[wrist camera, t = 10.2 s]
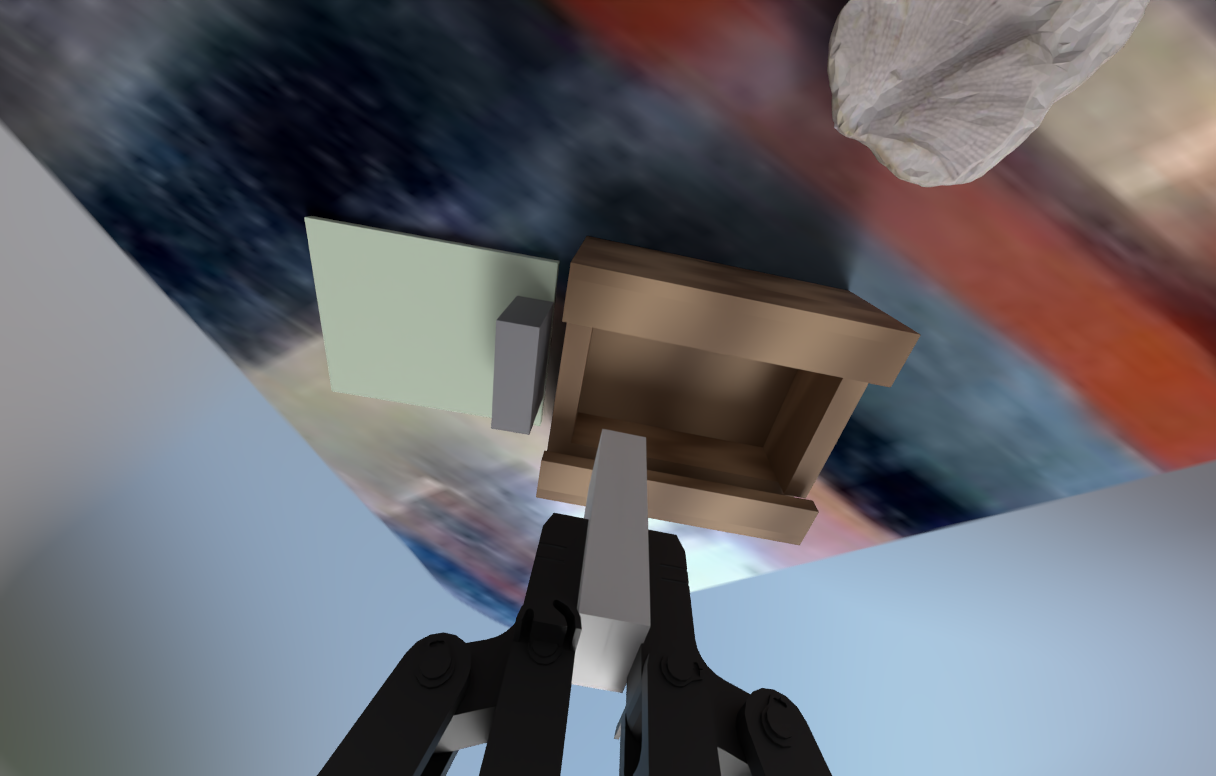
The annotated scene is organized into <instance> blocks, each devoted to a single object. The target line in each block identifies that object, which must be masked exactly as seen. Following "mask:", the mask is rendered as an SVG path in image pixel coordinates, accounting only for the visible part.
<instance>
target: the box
mask: <svg viewBox="0 0 1216 776" xmlns="http://www.w3.org/2000/svg"><path fill="white" fill-rule="evenodd" d="M562 322H567V325H566V332H565V338H564V345H563V351H562V358H561V364H560V371H559V377H558V384H557V390H556V397H555V403H554V410H553V416H552V423H551V429H550V436H549V442H548V449H547V451H544V454H543V457H542V460H541V467H540V474H539V480H538V487H537V494H536V497H537V498H543V499H548V500H554V501H559V502H565V503H570V504H576V505H581V506H586V501H587V495H588V488H589V484H590V480H591V475H592V471H593V467H594V462H595V458H596V454H597V450H598V445H599V441H600V437H601V433H602V429H606V430H611V431H616V432H621V433H626V434H631V435H636V436H641V437H646V462H647V503H648V518H653V519H658V520H664V521H669V522H675V523H680V524H686V525H691V526H696V527H702V528H707V529H713V530H718V531H724V532H729V533H735V534H740V535H746V536H751V537H757V538H762V539H768V540H773V541H779V542H784V543H790V544H795V545H800V544H801V542H802V540H803V539H804V537H805V535H806V533H807V532H808V530H809V528H810V526H811V525H812V523H813V521H814V519H815V518H816V516H817V514H818V513H819V512H818V510H817V508H816V506H815V504H814V502H813V501H811V500H806V499H801V498H806V497H807V495H808V493H809V491H810V490H811V488H812V486H813V484H814V482H815V480H816V479H817V477H818V475H819V473H820V471H821V469H822V468H823V466H824V464H825V462H826V460H827V458H828V457H829V455H830V453H831V451H832V449H833V447H834V446H835V444H836V442H837V440H838V438H839V436H840V435H841V433H842V431H843V429H844V427H845V425H846V424H847V422H848V420H849V418H850V416H851V414H852V412H853V411H854V409H855V407H856V405H857V403H858V401H859V400H860V398H861V396H862V394H863V392H864V390H865V389H866V387H867V385H868V383H871V384H876V385H881V386H886V387H891V386H892V384H893V382H894V380H895V379H896V377H897V375H898V373H899V372H900V370H901V368H902V367H903V365H904V363H905V361H906V360H907V358H908V356H909V354H910V353H911V351H912V349H913V347H914V346H915V344H916V342H917V340H918V339H919V337H920V334H919V333H917V332H915V331H914V330H912V329H910V328H909V327H907V326H906V325H904V324H902V323H901V322H899V321H897V320H896V319H894V318H893V317H891V316H889V315H888V314H886V313H884V312H883V311H881V310H880V309H878V308H876V307H875V306H873V305H871V304H870V303H868V302H867V301H865V300H863V299H862V298H860V297H858V296H857V295H855V294H854V293H852V292H850V291H848V290H843V289H838V288H833V287H829V286H824V285H819V284H814V283H809V282H805V281H800V280H795V279H790V278H786V277H781V276H776V275H771V274H767V273H762V272H757V271H752V270H747V269H743V268H738V267H733V266H728V265H724V264H719V263H714V262H709V261H705V260H700V259H695V258H690V257H685V256H681V255H676V254H671V253H666V252H662V251H657V250H652V249H647V248H643V247H638V246H633V245H628V244H623V243H619V242H614V241H609V240H604V239H600V238H595V237H590V236H587V237H586V238H585V240H584V241H583V243H582V245H581V246H580V248H579V250H578V251H577V253H576V255H575V256H574V258H573V260H572V261H571V264H570V271H569V278H568V284H567V291H566V298H565V305H564V312H563V318H562ZM794 496H795V497H800V498H795V497H794Z"/></svg>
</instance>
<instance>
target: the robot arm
mask: <svg viewBox="0 0 1216 776" xmlns="http://www.w3.org/2000/svg"><path fill="white" fill-rule="evenodd" d="M688 583H689V581H688V573H687V564H686V555H685V550H684V548H683V547H682V545H681V543H680V541H679V539H678V537H677V535H674V534H668V533H663V532H658V531H653V530H648V503H647V462H646V437H641V436H636V435H631V434H626V433H621V432H616V431H611V430H606V429H602V433H601V437H600V441H599V445H598V450H597V454H596V458H595V462H594V467H593V471H592V475H591V480H590V484H589V488H588V495H587V501H586V508H585V515H584V518H579V517H573V516H568V515H563V514H558V513H553V515H552V516H551V517H550V518H549V519H548V521H547V522H546V523H545V524H544V525H543V528H542V532H541V536H540V540H539V545H538V548H537V552H536V557H535V560H534V564H533V568H532V572H531V576H530V580H529V584H528V588H527V592H526V596H525V600H524V604H523V606H522V607H521V609H520V611H519V613H518V615H517V617H516V622H515V624H514V625H513V626H512V627H511V628H510V629H508V630H507V631H506V632H504V633H503V634H501V635H499V636H497V637H494V638H490V639H487V640H481V641H475V642H470V643H465V642H464V641H463V640H462V639H460V638H459V637H458V636H456V635H452V634H448V633H438V634H432V635H429V636H427V637H425V638H423V639H421V640H419V641H418V642H416V643H415V644H414V645H413V646H412V648H410V649H409V651H407V652H406V654H405V655H404V656H403V658H402V659H401V661H400V662H399V663H398V665H397V666H396V668H395V669H394V670H393V672H392V673H391V674H390V676H389V677H388V678H387V680H386V681H385V683H384V684H383V685H382V687H381V688H380V689H379V691H378V692H377V694H376V695H375V696H374V698H373V699H372V701H371V702H370V703H369V705H368V706H367V707H366V709H365V710H364V712H363V713H362V714H361V716H360V717H359V718H358V720H357V721H356V723H355V724H354V725H353V727H352V728H351V730H350V731H349V732H348V734H347V735H346V736H345V738H344V739H343V741H342V742H341V743H340V745H339V746H338V747H337V749H336V750H335V752H334V753H333V754H332V756H331V757H330V759H329V760H328V761H327V763H326V764H325V766H324V767H323V768H322V770H321V771H320V772H319V774H318V775H317V776H446V774H447V772H448V770H449V768H450V766H451V764H452V762H453V760H454V758H455V756H456V754H457V752H458V751H459V749H463V748H467V747H471V746H475V745H479V744H483V743H487V746H486V750H485V754H484V758H483V762H482V765H481V769H480V774H479V776H560V773H561V765H562V757H563V749H564V740H565V732H566V724H567V716H568V708H569V700H570V691H571V684H573V685H579V686H585V687H591V688H597V689H602V690H609V691H614V692H620V693H623V690H624V688H625V686H626V683H627V692H626V693H627V694H626V707H625V709H624V711H623V714H622V716H621V718H620V720H619V723H618V725H617V727H616V732H615V737H614V739H619V738H620V769H619V776H832V775H831V773H830V770H829V768H828V766H827V764H826V762H825V760H824V758H823V756H822V754H821V751H820V749H819V747H818V745H817V743H816V741H815V739H814V737H813V735H812V732H811V730H810V728H809V726H808V724H807V722H806V720H805V719H804V717H803V715H802V714H801V712H800V711H799V709H798V708H797V706H796V705H794V703H792V702H791V701H790V700H789V699H788V698H787V697H786V696H785V695H783V694H781V693H779V692H777V691H775V690H773V689H765V688H761V689H759V690H756V691H753V692H752V693H751V694H749V693H747V692H745V691H743V690H742V689H740V688H738V687H736V686H734V685H732V684H731V683H729V682H727V681H725V680H723V679H722V678H721V677H719V676H717V675H716V674H715V673H714V672H713V671H712V670H711V669H710V668H709V667H708V666H707V665H706V663H705V662H704V660H703V659H702V657H701V655H700V653H699V651H698V649H697V645H696V641H695V634H694V625H693V617H692V608H691V599H690V590H689V586H688ZM620 736H621V737H620Z"/></svg>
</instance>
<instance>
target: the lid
mask: <svg viewBox="0 0 1216 776" xmlns="http://www.w3.org/2000/svg"><path fill="white" fill-rule="evenodd" d="M304 218H305V224H306V230H307V237H308V243H309V249H310V256H311V262H312V268H313V275H314V281H315V287H316V294H317V300H318V306H319V313H320V319H321V325H322V332H323V338H324V344H325V351H326V357H327V363H328V370H329V376H330V382H331V389H332V391H334V392H340V393H346V394H352V395H358V396H364V397H370V398H376V399H382V400H388V401H394V402H400V403H406V404H412V405H418V406H424V407H430V408H435V409H441V410H447V411H453V412H459V413H465V414H471V415H477V416H483V417H489V418H492V423H491V428H492V429H498V430H504V431H510V432H516V433H522V434H528V435H529V434H530V431H531V429H532V426H533V425H537V426H540V425H541V422H542V415H543V406H544V397H545V388H546V379H547V370H548V361H549V352H550V343H551V334H552V325H553V316H554V307H555V298H556V289H557V280H558V271H559V262H560V261H557V260H551V259H546V258H540V257H535V256H529V255H524V254H518V253H513V252H507V251H502V250H496V249H491V248H485V247H480V246H474V245H469V244H463V243H458V242H452V241H447V240H441V239H436V238H430V237H425V236H419V235H414V234H408V233H403V232H397V231H392V230H386V229H380V228H375V227H369V226H364V225H358V224H353V223H347V222H342V221H336V220H331V219H325V218H320V217H314V216H309V217H304Z"/></svg>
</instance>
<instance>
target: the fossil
mask: <svg viewBox="0 0 1216 776" xmlns="http://www.w3.org/2000/svg"><path fill="white" fill-rule="evenodd" d="M1150 1H1151V0H849V1H848V2H847V4H846V5H845V6H844V7H843V8H842V10H841V11H840V13H839V15H838V16H837V19H836V22H835V25H834V28H833V30H832V33H831V37H830V41H829V54H828V65H827V73H828V75H829V83H830V84H829V87H830V88H831V92H832V117H833V121H834V123H835V124H834V128H836V129H837V130H838V132H839V133H841V134H842V135H844V136H846V137H849V138H852V139H855V140H857V141H859V142H861V143H862V144H864V145H866V146H867V147H868V148H870V150H871V151H872V152H873V154H874V155H875V157H876V158H877V160H878V161H879V162H880V163H881V164H883V165H884V166H886V167H887V168H888V169H889V170H890V171H891V172H892V173H893V174H894V175H895V176H896V177H898V178H899V179H901V180H904V181H908V182H911V183H914V184H918V185H920V186H921V187H934V186H939V185H955V184H964V183H968V182H972V181H973V180H975V179H977V178H979V177H982V176H983V175H984V174H985V173H986V172H987V171H988V170H990V169H992V168H993V167H994V166H995V165H996V164H997V163H998V162H1000V161H1001V160H1002V159H1003V158H1004V157H1005V156H1006V155H1008V154H1009V153H1011V152H1012V151H1013V150H1015V149H1016V148H1017V147H1018V146H1019V145H1020V144H1021V143H1022V142H1023V141H1024V140H1025V139H1027V138H1028V136H1029V135H1030V134H1031V133H1032V132H1033V131H1034V130H1035V129H1037V128H1038V127H1039V126H1040V124H1041V122H1042V120H1043V118H1044V116H1045V114H1046V113H1047V112H1048V110H1049V109H1050V107H1051V106H1052V105H1053V103H1055V102H1056V101H1058V100H1059V99H1061V98H1063V97H1064V96H1066V95H1067V94H1069V93H1071V92H1072V91H1074V90H1075V89H1077V88H1078V87H1079V86H1080V85H1081V84H1083V83H1084V82H1085V81H1086V80H1087V79H1088V78H1089V77H1090V76H1091V75H1092V74H1093V73H1094V72H1095V71H1097V70H1098V69H1099V67H1100V66H1101V65H1102V64H1104V63H1105V62H1106V61H1108V60H1109V59H1110V58H1111V57H1113V56H1114V55H1115V54H1116V53H1117V52H1118V51H1120V50H1121V49H1122V48H1123V47H1124V46H1125V44H1126V43H1127V41H1128V39H1129V38H1130V36H1131V34H1132V33H1133V31H1134V30H1135V28H1136V27H1137V25H1138V23H1139V22H1140V20H1141V19H1142V17H1143V16H1144V14H1145V10H1146V6H1147V5H1148V3H1149V2H1150Z"/></svg>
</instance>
